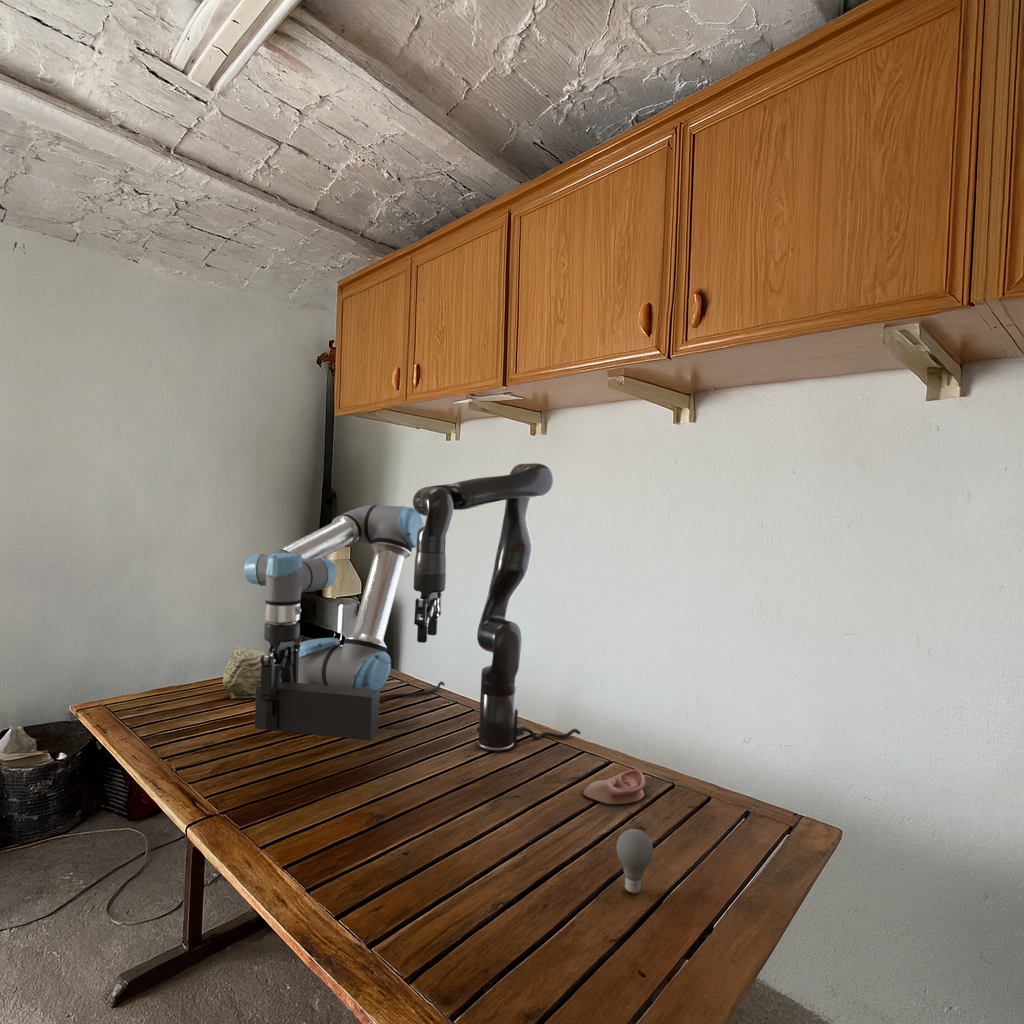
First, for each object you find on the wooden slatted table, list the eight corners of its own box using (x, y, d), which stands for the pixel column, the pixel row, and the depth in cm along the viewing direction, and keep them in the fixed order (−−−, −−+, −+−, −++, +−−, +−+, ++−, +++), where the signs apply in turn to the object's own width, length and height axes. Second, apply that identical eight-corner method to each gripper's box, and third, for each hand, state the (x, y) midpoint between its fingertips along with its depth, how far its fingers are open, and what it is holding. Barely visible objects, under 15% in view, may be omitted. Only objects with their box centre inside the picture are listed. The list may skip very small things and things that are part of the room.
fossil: (218, 695, 195) (220, 647, 195) (278, 685, 208) (279, 640, 207) (228, 703, 189) (230, 653, 188) (289, 692, 201) (290, 645, 201)
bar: (254, 728, 141) (255, 686, 141) (266, 720, 146) (267, 679, 146) (370, 740, 137) (371, 697, 137) (378, 732, 142) (380, 690, 142)
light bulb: (610, 879, 108) (613, 822, 108) (644, 879, 109) (647, 822, 109) (619, 902, 102) (622, 840, 102) (655, 901, 103) (658, 840, 103)
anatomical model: (582, 782, 137) (587, 761, 148) (581, 800, 137) (586, 778, 148) (645, 790, 134) (645, 768, 145) (644, 809, 134) (644, 785, 145)
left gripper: (277, 631, 133) (273, 740, 134) (316, 616, 151) (312, 712, 151) (244, 628, 134) (240, 737, 135) (287, 613, 152) (283, 709, 153)
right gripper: (437, 575, 143) (434, 646, 143) (452, 568, 157) (449, 633, 158) (405, 572, 144) (402, 643, 145) (423, 567, 158) (420, 631, 159)
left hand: (278, 724), depth 143 cm, fingers closed on bar, 5 cm apart
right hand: (427, 638), depth 151 cm, fingers open, 8 cm apart
